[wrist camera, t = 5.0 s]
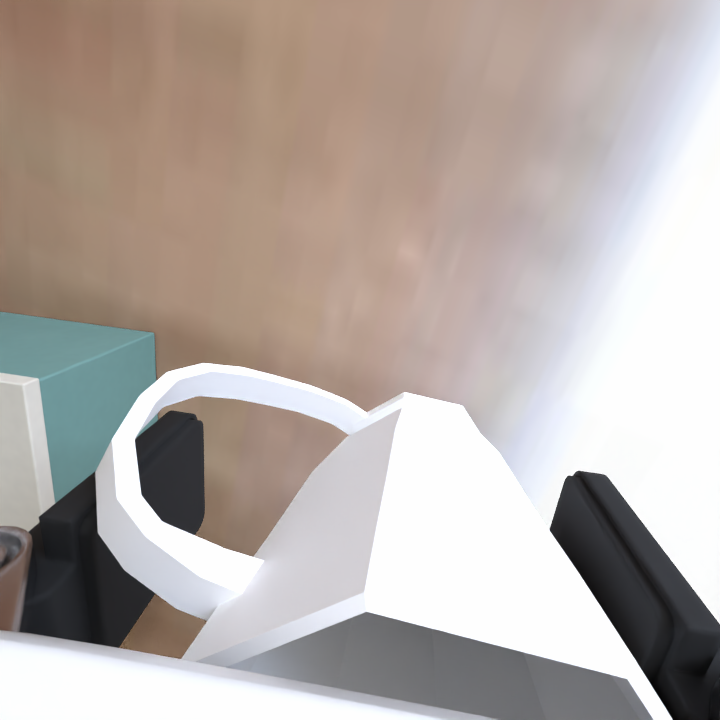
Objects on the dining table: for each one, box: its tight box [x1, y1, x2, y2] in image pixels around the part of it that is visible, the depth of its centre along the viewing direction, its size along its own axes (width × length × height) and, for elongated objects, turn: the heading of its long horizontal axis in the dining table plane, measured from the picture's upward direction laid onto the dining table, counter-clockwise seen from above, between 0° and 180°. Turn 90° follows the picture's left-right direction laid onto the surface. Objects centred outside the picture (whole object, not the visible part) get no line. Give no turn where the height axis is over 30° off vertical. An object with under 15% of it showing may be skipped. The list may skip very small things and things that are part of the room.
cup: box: [95, 363, 673, 720], centre depth 9 cm, size 7×10×8 cm
